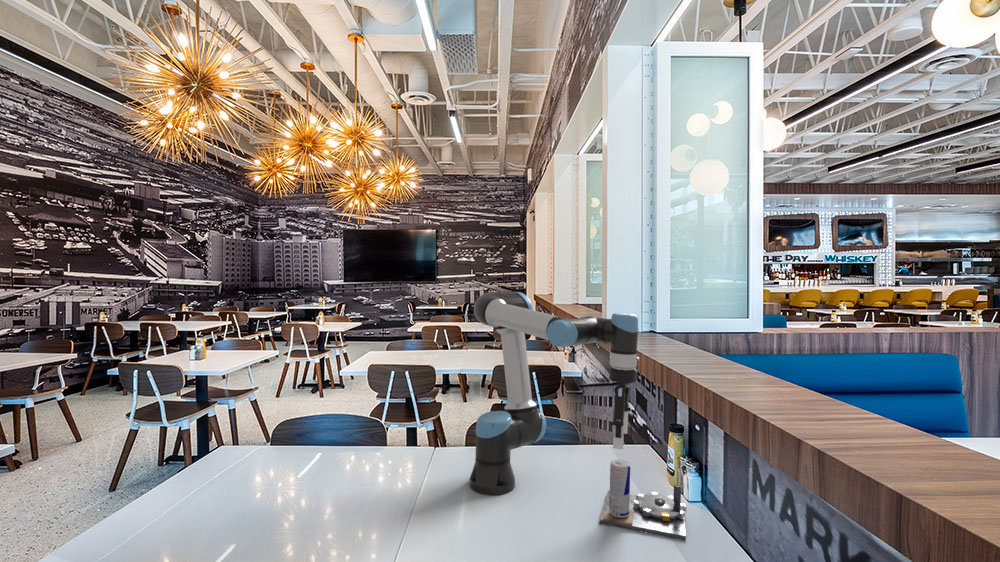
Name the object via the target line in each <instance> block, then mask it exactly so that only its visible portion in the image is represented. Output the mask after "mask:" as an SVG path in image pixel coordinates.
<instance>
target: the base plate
mask: <svg viewBox="0 0 1000 562" xmlns="http://www.w3.org/2000/svg"><path fill="white" fill-rule="evenodd" d="M636 495H637V494H631V493H630V499H629V510H634V517H633V524H632V526H630V525H625V524H620V523H614V522H609V521H604V520H603V517H604V513H605V510H606V506H609V500H610V489H608V490H607V493H606V495H605V496H606V497H605V499H604V503H603V507H602V510H601V514H600V517H599V524H600V525H605V526H609V527H614V528H620V529H624V530H628V531H629V530H630V531H634V530H635V532H639V531H642V532H641V533H645V532H647V533H646V534H650V533H651V535H656V536H661V537H665V538H672V539H677V540H682V541H686V540H687V536H686V535H687V534H686V531H687V529H686V516H685V517H684V518H683V519H679V518H676V519H669V521H663V520H662V519H659V518H655V517H651V516H649V517H646V516H644V515H643V512H641V511H640V510H639V509H638V508H634V500H636ZM636 501H637V500H636ZM683 512H685V511H683Z"/></svg>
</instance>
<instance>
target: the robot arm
mask: <svg viewBox="0 0 1000 562" xmlns="http://www.w3.org/2000/svg"><path fill="white" fill-rule="evenodd" d="M532 304H533V303H532V302H531V299H530V298H529V297H528V296H527V295H526V294H525V293H523V292H520V291H490V292H488V291H487V292H484V293H483V294H481V295H480V296H479V297H477V299H476V300H475V303H474V306H473V313H474V316H475V318H476V319H477V321H478V322H480V323H481V324H482V325H484V326H488V327H492V328H495V331H496V332H497V333H498V334H499V335H500V338H501V348H502V349H501V350H502V357H503V366H504V367H503V369H504V376H505V378H504V379H505V385H506V395H507V396H506V397H507V403H506V404H505V406H504V407H503V408H504V410H495V411H494V410H492V411H487V412H485V413H483V414H480V415H479V416H478V418H477V420H476V425H475V459H474V460H475V461H474V464H473V467H472V470H471V473H470V476H469V487H470V489H471V490H473V491H474V492H476V493H479V494H483V495H487V496H488V495H490V496H495V495H503V494H507V493H509V492H511V491H513V490H514V488H515V487H516V478H515V477H516V476H515V474H514V470H513V467H512V463H511V452H512V450H514V449H519V448H522V447H525V446H530V445H533V444H535V443H537V442H539V441H540V440H542V438H543V437H544V436H545V433H546V429H547V421H546V416H545V415H544V414H543V411H542V410H541V409H539V408H538V404H537V403H536V402H535V401H534V400H533V395H532V388H531V387H532V385H531V378H530V370H529V361H528V354H527V353H528V352H527V343H526V335H530V336H533V337H537V338H539V339H543V340H547V341H549V343H551V345H553V346H554V347H557V348H560V347H561V348H568V347H573V346H578V345H586V344H593V343H596V344H606V345H610V346H609V347H610V348H609V349H610V351H609V365H610V367H609V380H610V381H612V382H613V383H617V385H615V387H614V411H613V421H611V422H610V425H611V426H613V430H612V431H613V434H612V435H613V437H612V438H613V439H612V449H614V450H616V449H617V450H624V436H625V435H628V430H629V429H628V427H629V426H628V425H629V412H631V407H629V406H630V404H629V402H630V401H629V400H630V399H629V398H630V392H631V391H630V390H631V388H630V384H634V383H636V382H637V372H638V370H637V369H636V367H637V366H638V362H637V361H640V357H639V356H638V340H639V339H638V338H639V331H640V329H639V318H638V316H637V315H636V314H635V313H624V312H614V313H612V314H611V318H605V317H598V316H597V317H596V316H592V315H590V316H589V315H588V316H587V315H586V316H585V315H582V316H581V317H579V318H567V317H562V316H557V315H554V314H550V313H546V312H541V311H539V310H535V309H534V308H533V305H532ZM525 334H526V335H525ZM624 434H625V435H624Z"/></svg>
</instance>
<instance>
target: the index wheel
mask: <svg viewBox="0 0 1000 562" xmlns="http://www.w3.org/2000/svg"><path fill="white" fill-rule="evenodd" d="M635 495H636V500H637V501H636V500H634V508H638V509H639V510H640V511H641V512H643V515H644V516H646V517H649V516H651V517H655V518H659V519H662V520H663V521H669V519H676V518H679V519H683V518H684V517H685V518H686V516H685V514H686V512H687V505H686V503H684V502H682V486H681V485H678V484H676V485H675V484H674V485H673V495H671V494H670V495H667V494H662V493H658V492H657V491H651V492H650V493H638V494H635ZM683 511H684V512H683Z"/></svg>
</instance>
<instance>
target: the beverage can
mask: <svg viewBox="0 0 1000 562" xmlns="http://www.w3.org/2000/svg"><path fill="white" fill-rule="evenodd" d="M609 467H610V469H609V491H610V500H609V512H610V514H611V515H613V516H615V517H618V518H624V517H627V516H628V515H629V499H630V494H631V491H630V489H631V488H630V487H631V463H630V462H628V461H627V460H624V459H611V461H610V466H609Z"/></svg>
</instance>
